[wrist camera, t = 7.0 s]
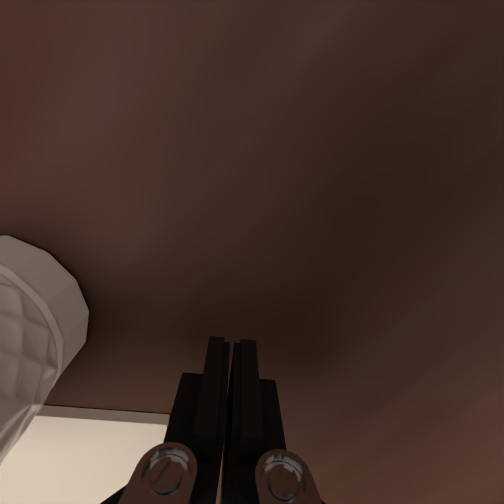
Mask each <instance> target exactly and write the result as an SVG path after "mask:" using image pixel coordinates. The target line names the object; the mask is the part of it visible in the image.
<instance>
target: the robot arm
mask: <svg viewBox="0 0 504 504" xmlns="http://www.w3.org/2000/svg"><path fill="white" fill-rule="evenodd" d="M224 339H225V337H214V336H210V338H209V344H208V350H207V355H206V361H205V367H204V373H203V374H195V373H182V376H181V379H180V383H179V387H178V390H177V394H176V398H175V401H174V405H173V408H172V412H171V416H170V419H169V423H168V427H167V430H166V434H165V438H164V441H163V443H162V444H159V445H157V446H155V447H153V448H151V449H150V450H149V451H147V452H146V453H145V454H144V455H143V456H142V458H141V459H140V461H139V462H138V464H137V466H136V468H135V470H134V472H133V474H132V476H131V478H130V480H129V482H128V484H127V485H125V486H124V487H122V488H121V489H120V490H118V491H117V492H115V493H114V494H113V495H111V496H110V497H108V498H107V499H106V500H104V501H103V502H101V503H100V504H215V503H216V496H217V488H218V481H219V474H220V467H221V459H222V452H223V465H222V482H221V499H220V504H325V503H324V502H323V501H322V500H321V498H320V496H319V493H318V490H317V488H316V485H315V482H314V479H313V477H312V474H311V472H310V470H309V468H308V466H307V465H306V464H305V462H304V461H303V460H302V459H301V458H300V457H298V456H297V455H296V454H294V453H293V452H290V451H287V450H286V444H285V438H284V432H283V425H282V419H281V413H280V407H279V400H278V394H277V388H276V383H275V380H267V379H259V373H258V361H257V349H256V341H255V340H246V339H241V340H240V343H234V350H233V358H232V365H231V373H230V380H229V388H228V395H227V387H228V370H229V352H230V342H224ZM223 445H224V448H223Z"/></svg>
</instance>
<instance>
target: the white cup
mask: <svg viewBox="0 0 504 504" xmlns="http://www.w3.org/2000/svg"><path fill="white" fill-rule="evenodd" d="M88 318H89V310H88V307H87V305H86V302H85V300H84V297H83V295H82V293H81V290H80V288H79V285H78V283H77V281H76V279H75V278H74V277H73V276H72V275H71V274H70V273H69V272H68V271H67V270H66V269H65V268H64V267H63V266H62V265H61V264H60V263H59V262H58V261H57V260H55V259H54V258H53V257H52V256H51V255H50V254H49V253H48V252H46V251H44V250H42V249H39V248H37V247H35V246H32V245H30V244H28V243H25V242H23V241H21V240H18V239H16V238H14V237H11V236H8V235H0V465H1V463H2V462H3V460H4V459H5V457H6V456H7V454H8V453H9V452H10V451H11V450H12V448H13V447H14V446H15V445H16V443H17V442H18V441H19V439H20V438H21V436H22V435H23V434H24V432H25V431H26V429H27V428H28V426H29V425H30V423H31V422H32V420H33V418H34V417H35V415H36V414H37V412H38V411H39V410H40V409H41V407H42V406H43V405H44V404H45V401H46V399H47V396H48V394H49V392H50V390H51V389H52V387H53V386H54V385H55V383H56V382H57V380H58V378H59V377H60V375H61V374H62V372H63V371H64V370H65V369H66V367H67V366H68V365H69V363H70V362H71V361H72V360H73V358H74V357H75V356H76V354H77V353H78V352H79V350H80V349H81V348H82V347H83V345H84V344H85V342H86V336H87V327H88Z"/></svg>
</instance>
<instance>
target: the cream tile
mask: <svg viewBox="0 0 504 504" xmlns="http://www.w3.org/2000/svg"><path fill="white" fill-rule="evenodd" d="M169 418H170V414H156V413H143V412H129V411H115V410H102V409H88V408H74V407H61V406H47V405H43V406H42V407H41V409H40V410H39V411H38V412H37V414H36V415H35V417H34V418H33V420H32V422H31V423H30V425H29V426H28V428H27V429H26V431H25V432H24V434H23V435H22V436H21V438H20V439H19V441H18V442H17V443H16V445H15V446H14V447H13V448H12V450H11V451H10V452H9V453H8V454H7V456H6V457H5V459H4V460H3V462H2V463H1V465H0V504H100V503H101V502H103V501H104V500H106V499H107V498H108V497H110V496H111V495H113V494H114V493H115V492H117V491H118V490H120V489H121V488H122V487H124V486H125V485H127V484H128V482H129V480H130V478H131V476H132V474H133V472H134V470H135V468H136V466H137V464H138V462H139V461H140V459H141V458H142V456H143V455H144V454H145V453H146V452H147V451H149V450H150V449H151V448H153V447H155V446H157V445H159V444H162V443H163V441H164V438H165V434H166V430H167V427H168V423H169Z"/></svg>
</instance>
